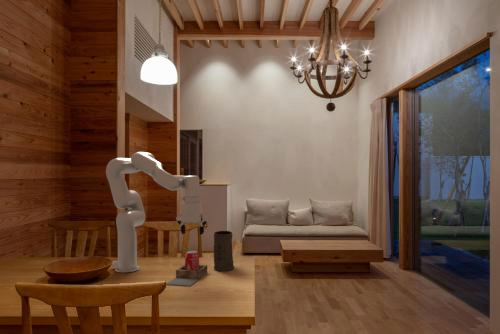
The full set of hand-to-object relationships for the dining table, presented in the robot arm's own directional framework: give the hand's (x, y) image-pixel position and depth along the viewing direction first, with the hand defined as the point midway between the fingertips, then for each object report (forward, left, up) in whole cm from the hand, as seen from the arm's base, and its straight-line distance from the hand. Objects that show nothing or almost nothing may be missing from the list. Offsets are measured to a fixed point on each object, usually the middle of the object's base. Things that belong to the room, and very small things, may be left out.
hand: (192, 233), depth 187 cm
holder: (0, 0, -21) cm, 21 cm away
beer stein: (+12, +17, -21) cm, 30 cm away
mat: (0, -12, -21) cm, 24 cm away
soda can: (0, 0, -21) cm, 21 cm away
